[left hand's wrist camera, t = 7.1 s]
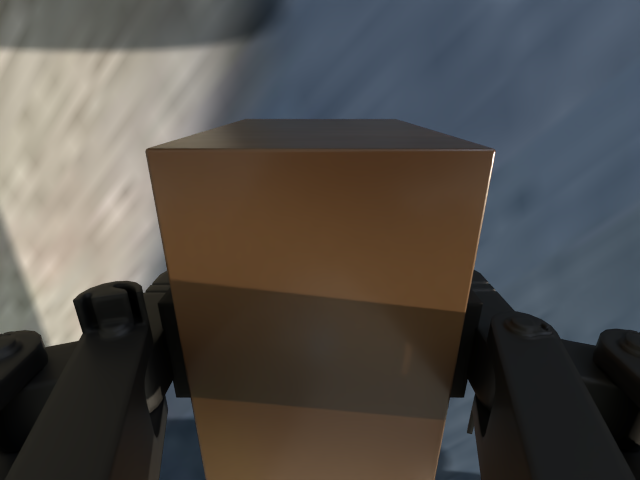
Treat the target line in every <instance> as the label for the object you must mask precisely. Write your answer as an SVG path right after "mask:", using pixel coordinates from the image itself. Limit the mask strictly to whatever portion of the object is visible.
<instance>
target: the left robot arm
mask: <svg viewBox="0 0 640 480" xmlns="http://www.w3.org/2000/svg"><path fill="white" fill-rule="evenodd" d="M73 303H74V306H75V309H76V312H77V316H78V319H79V322H80V326H81V329H82V332H83V334H82V336H81V338H80V340H79V341H76V342H71V343H65V344H60V345H55V346H49V347H45V346H44V343H43V341H42V338H41V335H40V334H38V333H37V332H35V331H27V330H23V331H15V332H7V333H4V334H0V480H159V475H160V467H161V460H162V452H163V444H164V437H165V429H166V421H167V414H168V407H167V401H166V396H165V394H166V392H167V390H168V388H169V386H170V385H171V383H172V381H173V383H174V388H175V393H176V397H191V396H190V391H189V385H188V380H187V375H186V369H185V364H184V358H183V353H182V347H181V342H180V336H179V331H178V326H177V320H176V315H175V309H174V304H173V298H172V293H171V288H170V282H169V277H168V271H166V272H164V273H162V274H160V275H159V277H158V278H157V279H156V280H155V281H154V282H153V283H152V285H150V287H149V288H148V289H147V290H146V293H143V290H142V286H141V285H139V284H138V283H136V282H131V281H115V282H110V283H105V284H101V285H98V286H95V287H92V288H90V289H88V290H86V291H84V292H82V293H81V294H79V295H78V296H77V297H76V298H75V299H74V300H73ZM467 380H469V382H470V384H471V386H472V388H473V390H474V392H475V396H474V401H473V406H472V410H471V415H470V419H469V424H468V430H467V433H469V434H472V432H473V427H474V428H475V436H476V443H477V451H478V459H479V466H480V474H481V480H640V332H639V333H638V332H637V331H633V330H623V329H608V330H605V331H603V332H602V333H600V336H599V339H598V342H597V344H596V346H594V345H589V344H584V343H578V342H573V341H568V340H563V339H560V337H559V335H558V333H557V332H556V331H555V330H554V329H553V327H552V326H551V325H549V324H548V323H546V322H545V321H543V320H542V319H539V318H537V317H534V316H532V315H530V314H525V313H521V312H516V311H514V310H513V309H512V308H511V306H510V305H509V304H508V303H507V302H506V301H505V300H504V299H503V298H502V297H501V296H500V294H499V293H498V292H497V291H495V289H494V288H493V287H492V286H491V285H490V284H488V281H487V280H486V279H485V278H484V277H483V276H482V275H481V274H480V273H479V272H477V271H475V270H473V276H472V281H471V286H470V292H469V297H468V302H467V308H466V313H465V319H464V324H463V329H462V335H461V340H460V345H459V351H458V356H457V362H456V367H455V372H454V378H453V383H452V388H451V394H450V397H464V395H465V390H466V385H467Z"/></svg>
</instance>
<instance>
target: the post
mask: <svg viewBox="0 0 640 480" xmlns="http://www.w3.org/2000/svg"><path fill="white" fill-rule="evenodd" d="M146 157H147V162H148V168H149V173H150V179H151V184H152V190H153V195H154V200H155V206H156V211H157V217H158V222H159V228H160V233H161V239H162V244H163V249H164V255H165V260H166V266H167V271H168V277H169V282H170V288H171V293H172V298H173V304H174V309H175V315H176V320H177V326H178V331H179V336H180V342H181V347H182V353H183V358H184V364H185V369H186V375H187V380H188V385H189V391H190V396H191V402H192V407H193V413H194V418H195V424H196V429H197V434H198V440H199V445H200V451H201V456H202V462H203V467H204V473H205V478H206V480H435V475H436V469H437V464H438V458H439V453H440V448H441V442H442V437H443V431H444V426H445V421H446V415H447V410H448V405H449V399H450V394H451V388H452V383H453V378H454V372H455V367H456V362H457V356H458V351H459V345H460V340H461V335H462V329H463V324H464V319H465V313H466V308H467V302H468V297H469V292H470V286H471V281H472V276H473V270H474V265H475V259H476V254H477V249H478V243H479V238H480V232H481V227H482V222H483V216H484V211H485V206H486V200H487V195H488V189H489V184H490V179H491V173H492V168H493V163H494V157H495V149H493V148H489V147H486V146H483V145H480V144H476V143H473V142H470V141H466V140H463V139H460V138H456V137H453V136H450V135H446V134H443V133H440V132H437V131H433V130H430V129H427V128H423V127H420V126H417V125H413V124H410V123H407V122H403V121H400V120H397V119H244V120H241V121H237V122H234V123H231V124H227V125H224V126H221V127H217V128H214V129H211V130H207V131H204V132H201V133H197V134H194V135H191V136H187V137H184V138H181V139H177V140H174V141H171V142H167V143H164V144H161V145H157V146H154V147H151V148H148V149H146Z"/></svg>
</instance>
